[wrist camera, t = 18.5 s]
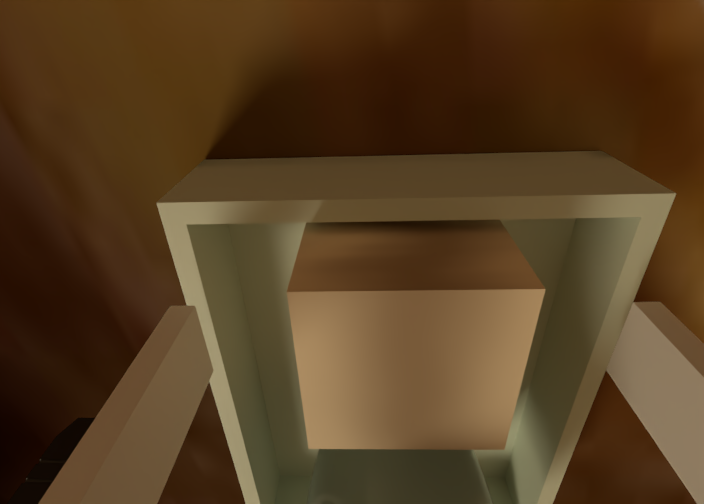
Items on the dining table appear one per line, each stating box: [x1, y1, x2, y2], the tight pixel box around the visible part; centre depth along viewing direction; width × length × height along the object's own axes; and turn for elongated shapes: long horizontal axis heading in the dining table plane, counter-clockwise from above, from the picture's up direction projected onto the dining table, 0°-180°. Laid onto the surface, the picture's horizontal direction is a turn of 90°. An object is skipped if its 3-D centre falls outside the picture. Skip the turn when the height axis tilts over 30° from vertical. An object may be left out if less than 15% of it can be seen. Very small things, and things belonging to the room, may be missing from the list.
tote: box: [157, 151, 676, 504], centre depth 18 cm, size 14×19×4 cm
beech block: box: [287, 219, 546, 450], centre depth 14 cm, size 6×6×6 cm
